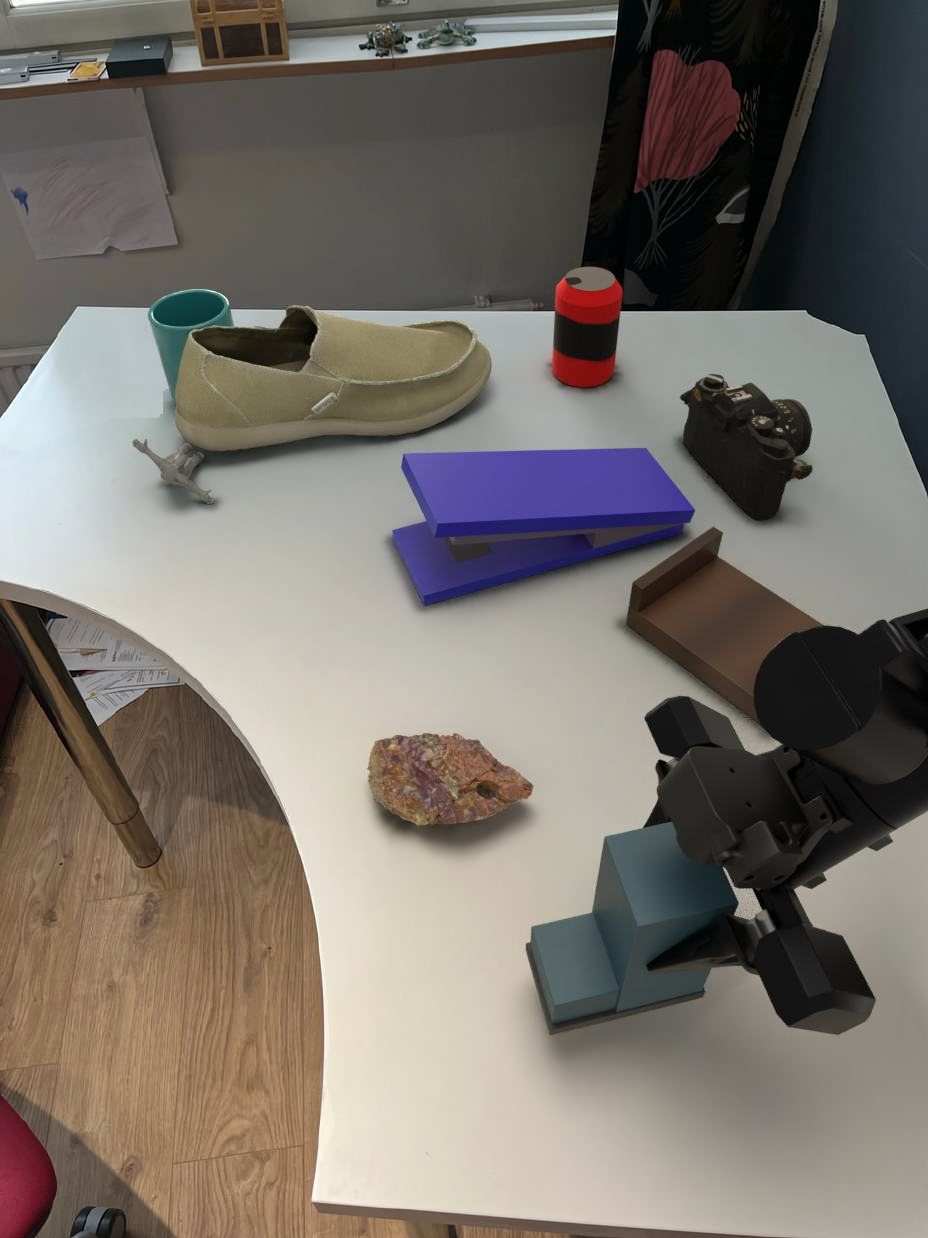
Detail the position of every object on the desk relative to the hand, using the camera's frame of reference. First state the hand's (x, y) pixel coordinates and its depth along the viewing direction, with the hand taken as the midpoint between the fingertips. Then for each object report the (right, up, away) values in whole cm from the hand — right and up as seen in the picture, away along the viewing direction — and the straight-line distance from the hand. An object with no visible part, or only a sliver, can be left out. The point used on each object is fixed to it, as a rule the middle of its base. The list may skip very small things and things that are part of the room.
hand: (633, 922), depth 54 cm
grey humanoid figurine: (-41, +32, +46) cm, 69 cm away
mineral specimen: (-11, +4, +19) cm, 23 cm away
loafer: (-24, +42, +54) cm, 73 cm away
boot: (0, -5, +5) cm, 7 cm away
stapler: (-2, +26, +40) cm, 47 cm away
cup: (-41, +46, +59) cm, 85 cm away
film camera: (+21, +34, +46) cm, 61 cm away
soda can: (+5, +48, +60) cm, 77 cm away
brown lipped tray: (+14, +16, +29) cm, 36 cm away
